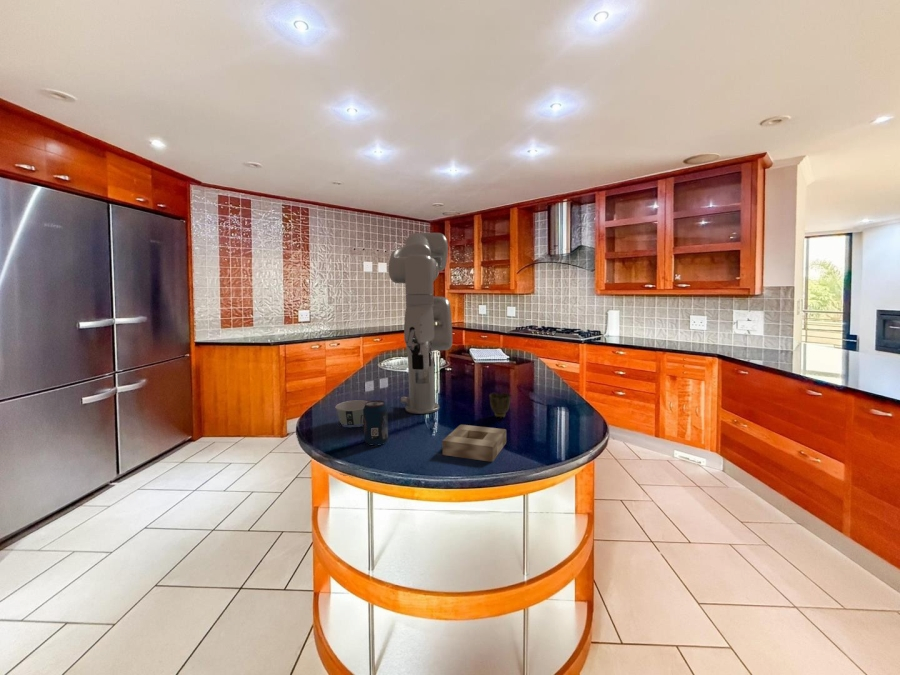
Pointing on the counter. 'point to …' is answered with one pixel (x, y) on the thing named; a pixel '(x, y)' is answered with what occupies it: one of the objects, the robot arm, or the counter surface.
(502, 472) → the counter surface
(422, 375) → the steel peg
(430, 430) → the counter surface
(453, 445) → the square wooden frame
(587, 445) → the counter surface
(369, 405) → the soda can
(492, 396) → the brown bumpy hollow part
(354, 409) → the food container
